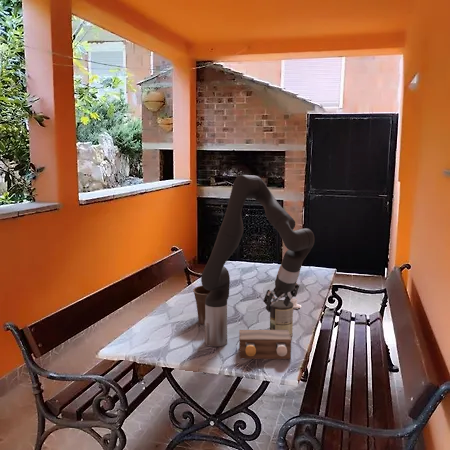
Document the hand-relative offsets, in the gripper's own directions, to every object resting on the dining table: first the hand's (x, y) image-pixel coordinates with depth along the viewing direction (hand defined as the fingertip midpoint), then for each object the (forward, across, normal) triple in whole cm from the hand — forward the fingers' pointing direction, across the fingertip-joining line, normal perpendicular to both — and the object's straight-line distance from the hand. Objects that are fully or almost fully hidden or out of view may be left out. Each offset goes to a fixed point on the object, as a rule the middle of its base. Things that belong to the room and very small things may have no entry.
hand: (277, 307), depth 184 cm
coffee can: (+30, -18, -8) cm, 36 cm away
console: (+23, +1, +2) cm, 23 cm away
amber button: (+19, +9, +3) cm, 21 cm away
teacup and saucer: (+44, -44, -29) cm, 69 cm away
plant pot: (+42, +1, -35) cm, 55 cm away
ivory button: (+17, -1, +9) cm, 19 cm away
